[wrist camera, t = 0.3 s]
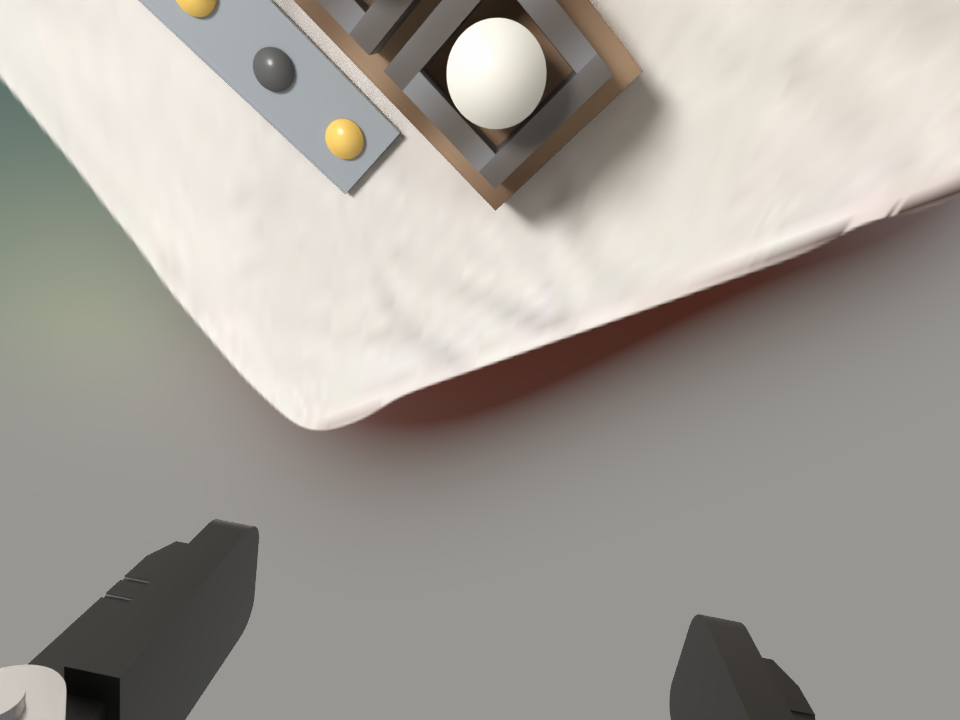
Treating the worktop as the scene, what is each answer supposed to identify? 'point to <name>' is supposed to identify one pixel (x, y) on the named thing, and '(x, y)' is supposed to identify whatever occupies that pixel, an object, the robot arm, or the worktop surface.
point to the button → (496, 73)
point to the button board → (423, 82)
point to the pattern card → (284, 81)
